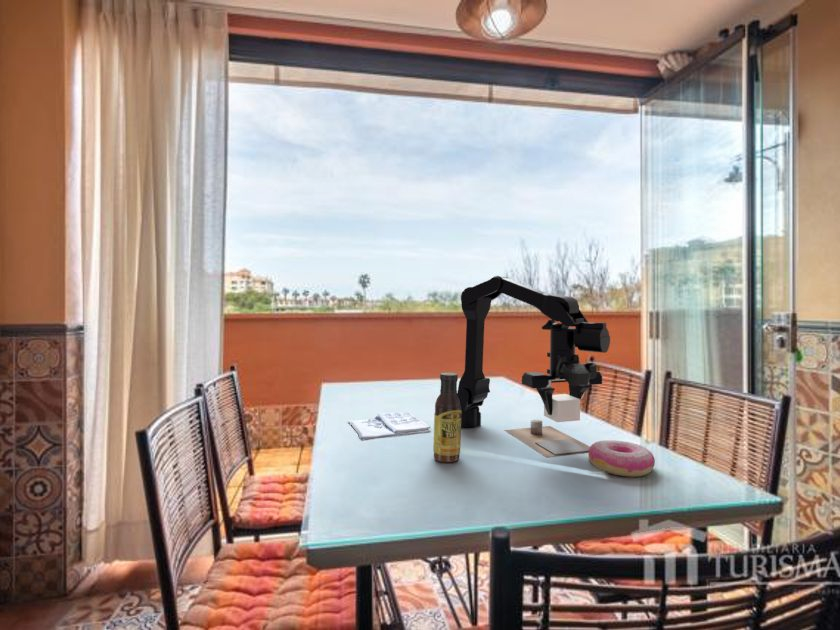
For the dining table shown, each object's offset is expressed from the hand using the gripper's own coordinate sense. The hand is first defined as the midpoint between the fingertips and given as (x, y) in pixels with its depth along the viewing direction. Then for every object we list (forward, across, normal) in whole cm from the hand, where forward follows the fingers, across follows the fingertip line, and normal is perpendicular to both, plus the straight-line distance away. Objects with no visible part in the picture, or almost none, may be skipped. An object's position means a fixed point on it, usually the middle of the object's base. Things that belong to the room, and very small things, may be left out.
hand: (561, 413), depth 115 cm
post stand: (+9, 0, +6) cm, 11 cm away
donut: (+10, +6, -13) cm, 17 cm away
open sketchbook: (+10, -36, +33) cm, 50 cm away
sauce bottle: (+9, -28, +3) cm, 30 cm away
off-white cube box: (+1, 0, 0) cm, 1 cm away
